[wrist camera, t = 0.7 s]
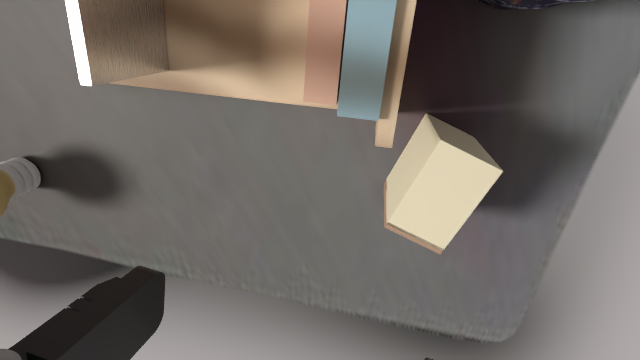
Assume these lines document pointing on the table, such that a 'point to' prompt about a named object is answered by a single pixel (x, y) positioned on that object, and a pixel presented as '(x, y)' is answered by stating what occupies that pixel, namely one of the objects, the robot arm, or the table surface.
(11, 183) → the light bulb
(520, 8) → the storage jar
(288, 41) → the rack
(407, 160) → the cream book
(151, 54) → the bookend
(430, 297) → the table surface
